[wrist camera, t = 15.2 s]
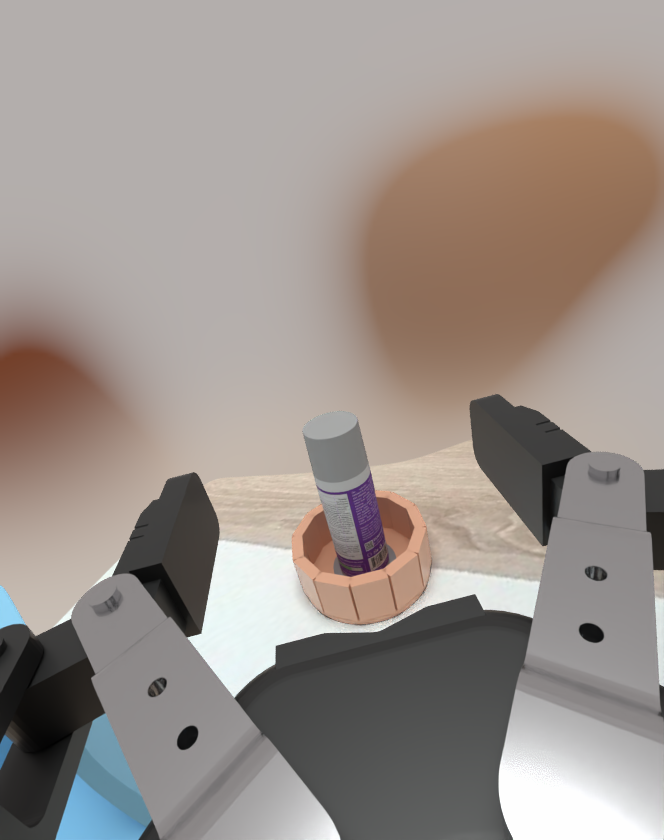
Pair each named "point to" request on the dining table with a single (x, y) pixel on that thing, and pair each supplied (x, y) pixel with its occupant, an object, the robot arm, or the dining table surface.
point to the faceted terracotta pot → (374, 590)
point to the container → (346, 492)
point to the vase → (94, 778)
